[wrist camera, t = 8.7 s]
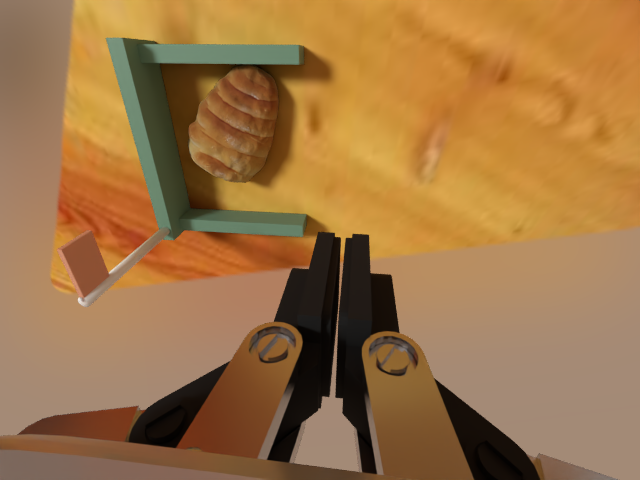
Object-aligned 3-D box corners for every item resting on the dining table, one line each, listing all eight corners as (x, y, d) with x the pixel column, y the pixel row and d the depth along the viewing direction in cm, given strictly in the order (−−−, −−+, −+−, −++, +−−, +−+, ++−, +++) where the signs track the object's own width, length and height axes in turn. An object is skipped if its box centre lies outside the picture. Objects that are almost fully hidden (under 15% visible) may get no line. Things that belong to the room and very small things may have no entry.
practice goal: (303, 41, 24) (249, 21, 12) (306, 227, 32) (275, 329, 20) (140, 41, 25) (-63, 21, 13) (182, 220, 33) (81, 313, 21)
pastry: (227, 44, 25) (208, 42, 21) (301, 93, 26) (294, 97, 23) (191, 146, 29) (170, 158, 26) (255, 184, 30) (243, 199, 27)
